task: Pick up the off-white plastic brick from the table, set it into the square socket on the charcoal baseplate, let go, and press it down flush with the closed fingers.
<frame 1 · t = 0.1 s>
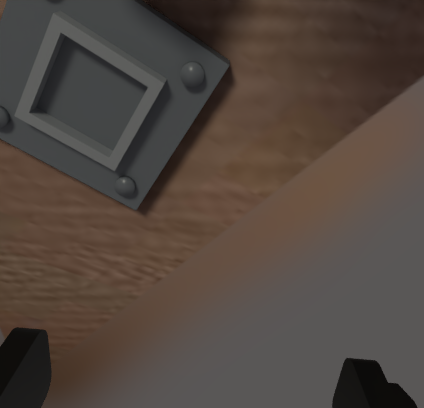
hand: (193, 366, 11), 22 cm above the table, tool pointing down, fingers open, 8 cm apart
baseplate: (98, 89, 29), on the table
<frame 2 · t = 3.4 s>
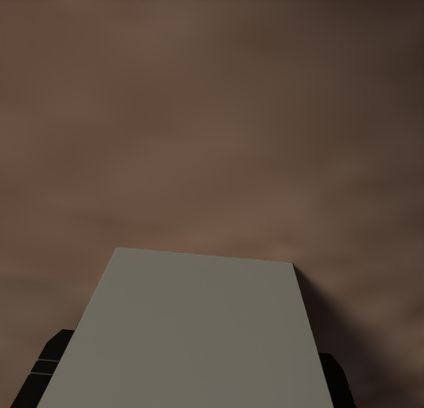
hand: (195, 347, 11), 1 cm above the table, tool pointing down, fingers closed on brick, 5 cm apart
brick: (198, 324, 12), on the table, touching gripper
when the fingers open (4 cm above the table, at t = 8.1 s): brick drops 2 cm, resting on baseplate.
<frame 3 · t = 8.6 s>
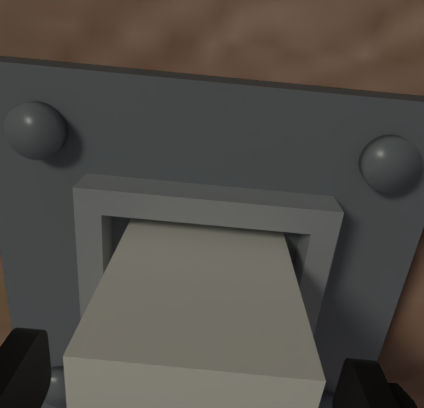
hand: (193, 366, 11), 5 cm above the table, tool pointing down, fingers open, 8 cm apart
brick: (201, 287, 14), point 1 cm above the table, touching baseplate
baseplate: (202, 264, 15), on the table
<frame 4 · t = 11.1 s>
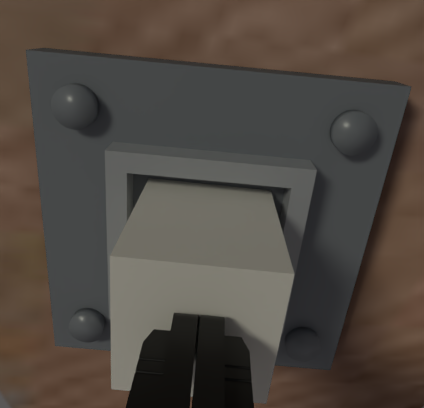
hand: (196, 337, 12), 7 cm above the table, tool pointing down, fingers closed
brick: (204, 237, 17), point 1 cm above the table, touching baseplate, gripper
baseplate: (205, 221, 18), on the table
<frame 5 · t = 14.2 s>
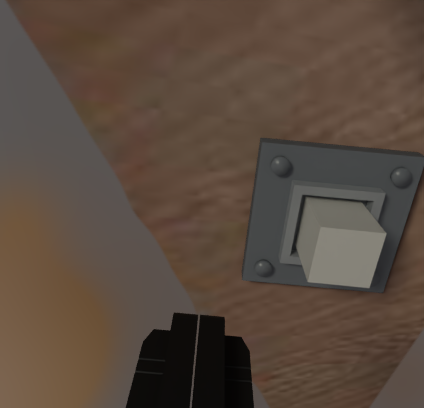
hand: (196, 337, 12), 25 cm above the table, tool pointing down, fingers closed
brick: (327, 223, 36), point 1 cm above the table, touching baseplate
baseplate: (323, 216, 37), on the table
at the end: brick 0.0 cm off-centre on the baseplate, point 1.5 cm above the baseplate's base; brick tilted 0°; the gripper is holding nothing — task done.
